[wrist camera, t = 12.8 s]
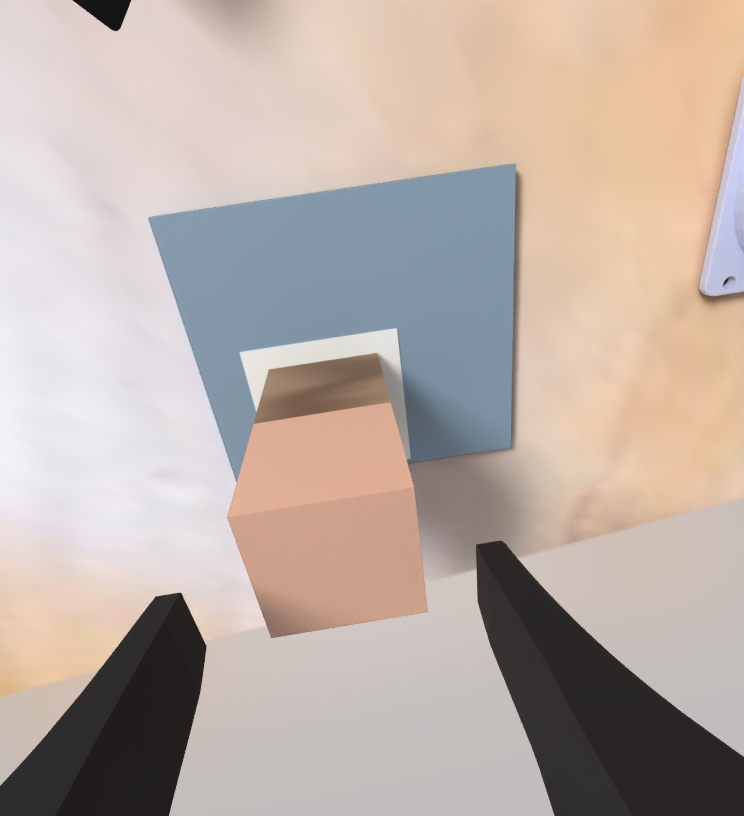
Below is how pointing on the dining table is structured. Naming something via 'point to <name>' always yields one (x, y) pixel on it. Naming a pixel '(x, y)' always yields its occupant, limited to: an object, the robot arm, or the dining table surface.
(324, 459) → the terracotta block
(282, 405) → the walnut block
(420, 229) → the plate
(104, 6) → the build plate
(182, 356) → the dining table surface
